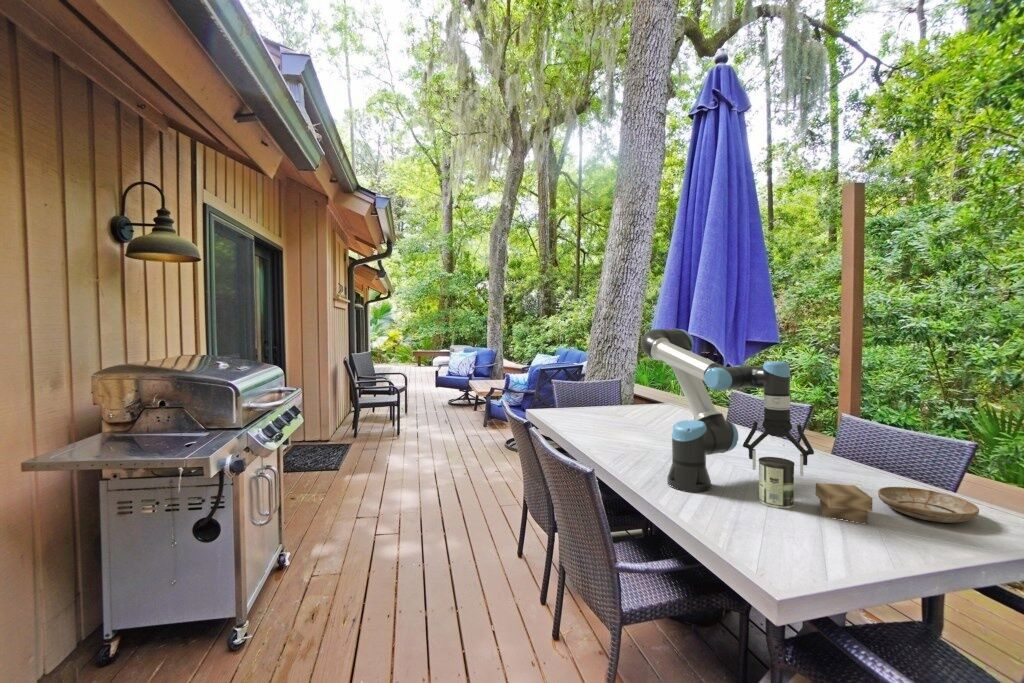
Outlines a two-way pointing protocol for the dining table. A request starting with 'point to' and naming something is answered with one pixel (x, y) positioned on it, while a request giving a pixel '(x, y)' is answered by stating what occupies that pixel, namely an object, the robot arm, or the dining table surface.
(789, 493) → the coffee can
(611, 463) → the dining table surface
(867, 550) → the dining table surface
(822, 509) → the lower block
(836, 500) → the top block
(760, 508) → the dining table surface
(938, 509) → the wooden bowl
